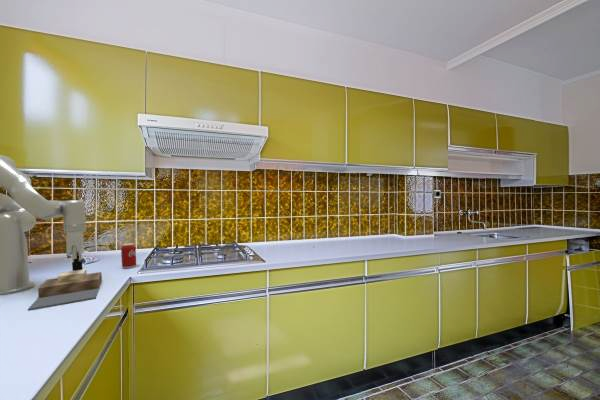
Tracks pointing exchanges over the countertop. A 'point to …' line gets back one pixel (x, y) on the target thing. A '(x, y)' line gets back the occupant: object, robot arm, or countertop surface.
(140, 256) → the countertop surface
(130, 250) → the beverage can
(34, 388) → the countertop surface
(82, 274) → the beech tile
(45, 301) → the rubber mat
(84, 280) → the walnut deck
